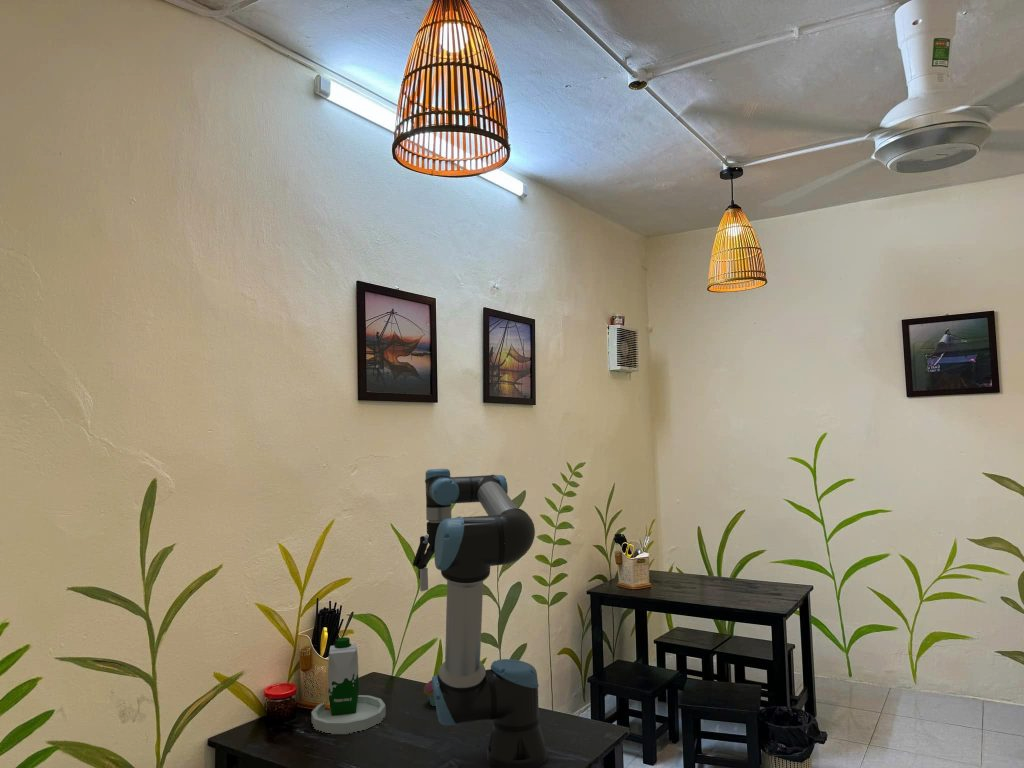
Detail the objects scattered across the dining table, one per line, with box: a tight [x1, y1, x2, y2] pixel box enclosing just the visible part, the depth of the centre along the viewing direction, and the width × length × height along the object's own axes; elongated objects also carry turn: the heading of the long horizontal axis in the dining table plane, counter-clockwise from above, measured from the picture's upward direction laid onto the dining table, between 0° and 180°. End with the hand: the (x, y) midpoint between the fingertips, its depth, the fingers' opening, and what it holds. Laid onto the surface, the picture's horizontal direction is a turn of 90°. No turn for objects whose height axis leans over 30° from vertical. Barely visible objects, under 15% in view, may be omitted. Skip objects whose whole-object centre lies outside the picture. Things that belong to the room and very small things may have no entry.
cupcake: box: [423, 679, 435, 707], centre depth 216 cm, size 9×8×12 cm
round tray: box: [310, 694, 387, 735], centre depth 207 cm, size 20×20×3 cm
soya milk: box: [327, 636, 360, 716], centre depth 211 cm, size 9×9×20 cm
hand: (441, 593), depth 211 cm, fingers open, 13 cm apart
